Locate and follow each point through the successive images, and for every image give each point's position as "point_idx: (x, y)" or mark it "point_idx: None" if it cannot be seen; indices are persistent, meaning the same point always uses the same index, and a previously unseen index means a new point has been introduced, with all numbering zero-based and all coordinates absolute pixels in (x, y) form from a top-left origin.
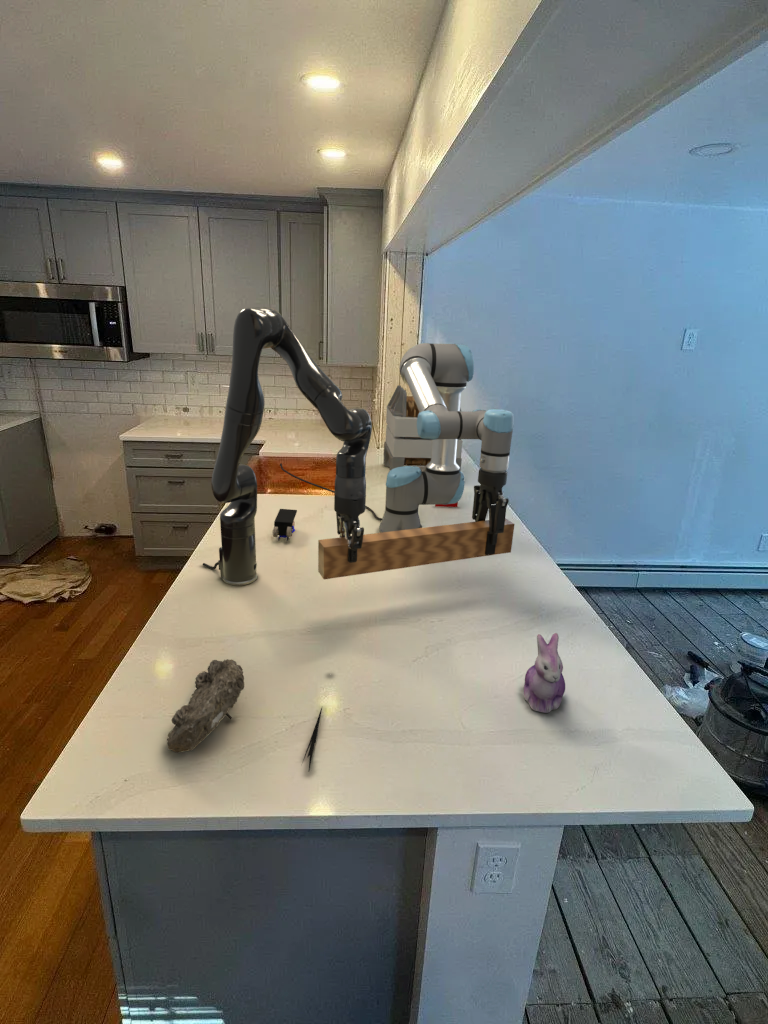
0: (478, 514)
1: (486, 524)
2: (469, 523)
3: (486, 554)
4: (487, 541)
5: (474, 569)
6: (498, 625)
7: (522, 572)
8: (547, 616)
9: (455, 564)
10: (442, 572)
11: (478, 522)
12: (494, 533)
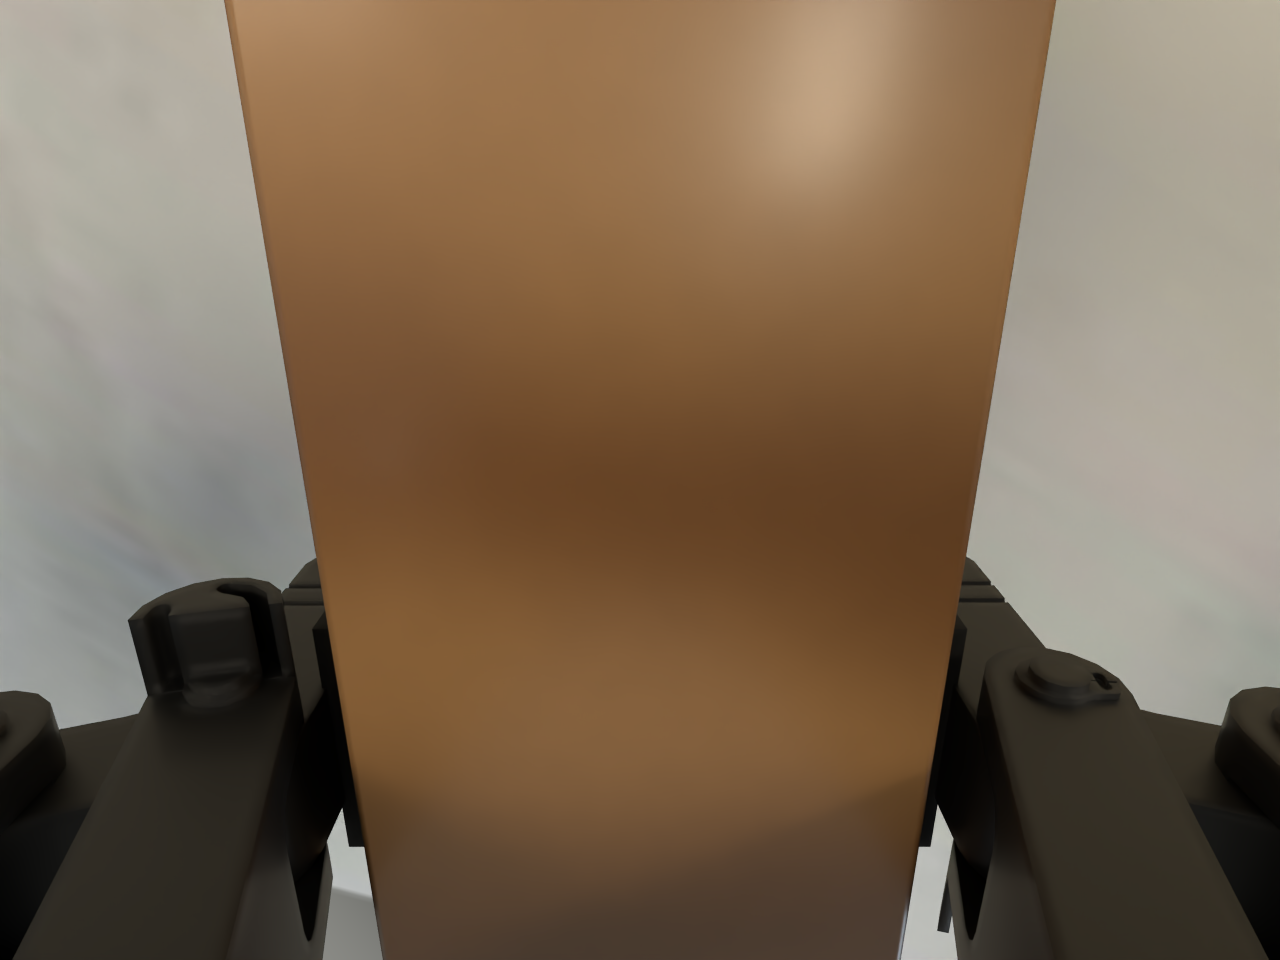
0: (1132, 935)
1: (571, 800)
2: (872, 283)
3: None
4: None
5: (1008, 513)
6: (32, 156)
7: None
8: (137, 603)
9: (1180, 404)
10: (1106, 188)
11: (825, 662)
12: (11, 694)
